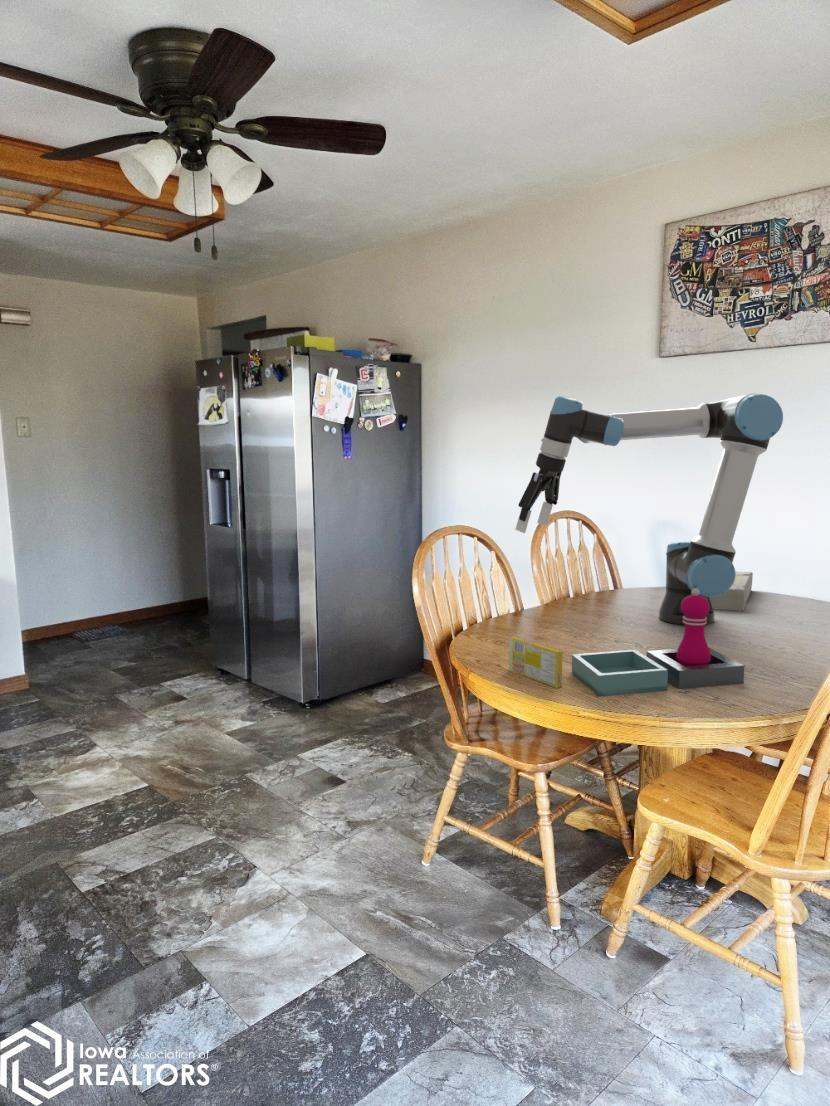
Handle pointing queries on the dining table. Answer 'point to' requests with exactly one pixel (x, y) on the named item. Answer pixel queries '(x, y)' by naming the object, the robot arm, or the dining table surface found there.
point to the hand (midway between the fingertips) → (531, 527)
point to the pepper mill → (694, 631)
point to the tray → (619, 672)
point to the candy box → (535, 661)
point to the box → (735, 593)
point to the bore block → (699, 670)
